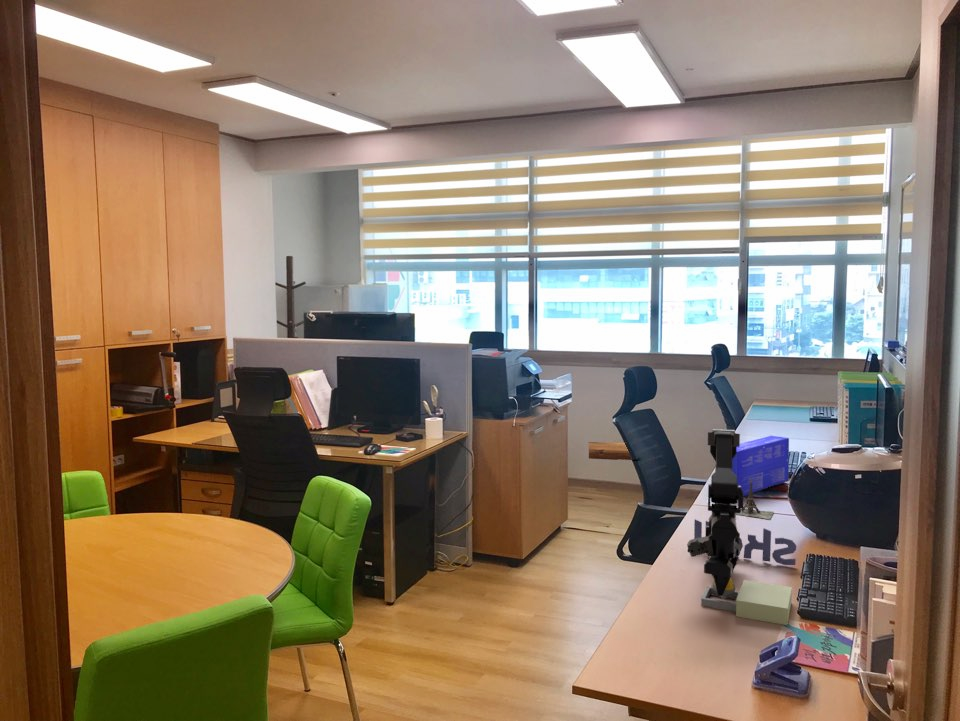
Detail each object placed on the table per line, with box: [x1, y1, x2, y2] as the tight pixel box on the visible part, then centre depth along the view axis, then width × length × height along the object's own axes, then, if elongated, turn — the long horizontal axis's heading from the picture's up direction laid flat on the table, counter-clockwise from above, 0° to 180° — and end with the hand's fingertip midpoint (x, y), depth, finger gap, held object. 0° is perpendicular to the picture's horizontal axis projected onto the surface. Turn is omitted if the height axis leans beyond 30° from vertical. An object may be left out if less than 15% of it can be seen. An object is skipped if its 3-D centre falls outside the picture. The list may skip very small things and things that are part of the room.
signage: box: [693, 518, 797, 566], centre depth 217 cm, size 28×1×10 cm, turn 62°
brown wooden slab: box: [588, 441, 633, 461], centre depth 353 cm, size 23×19×6 cm
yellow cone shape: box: [711, 577, 736, 600], centre depth 186 cm, size 5×5×10 cm
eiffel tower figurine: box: [736, 479, 774, 520], centre depth 263 cm, size 15×10×13 cm
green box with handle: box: [700, 579, 793, 626], centre depth 184 cm, size 14×20×4 cm
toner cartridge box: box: [732, 435, 790, 497], centre depth 295 cm, size 39×8×18 cm, turn 129°
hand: (722, 590), depth 186 cm, fingers closed on yellow cone shape, 5 cm apart
